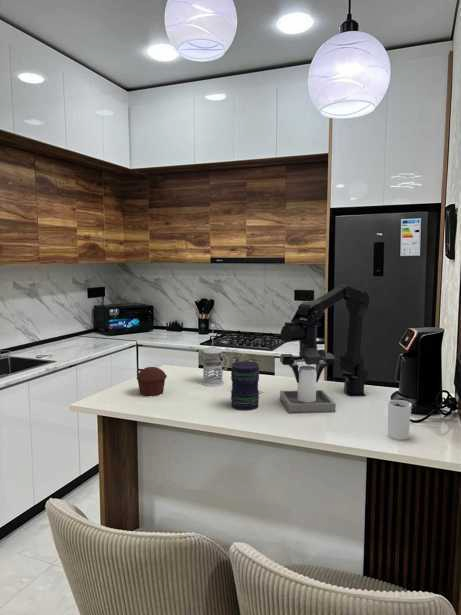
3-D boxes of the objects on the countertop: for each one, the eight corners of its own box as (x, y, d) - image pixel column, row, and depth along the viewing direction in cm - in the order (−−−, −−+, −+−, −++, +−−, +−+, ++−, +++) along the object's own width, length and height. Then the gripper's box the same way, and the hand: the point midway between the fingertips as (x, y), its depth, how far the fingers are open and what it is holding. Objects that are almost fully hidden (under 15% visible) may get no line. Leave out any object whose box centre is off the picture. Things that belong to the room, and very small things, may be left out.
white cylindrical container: (381, 435, 138) (383, 402, 137) (394, 430, 142) (396, 398, 141) (401, 442, 133) (403, 408, 132) (414, 436, 137) (416, 404, 136)
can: (304, 404, 161) (305, 371, 159) (294, 399, 167) (294, 366, 165) (319, 401, 164) (320, 368, 162) (308, 396, 169) (309, 364, 168)
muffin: (130, 394, 178) (129, 368, 177) (150, 387, 187) (150, 363, 186) (153, 399, 171) (152, 373, 170) (173, 392, 180) (172, 367, 179)
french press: (199, 380, 197) (198, 322, 194) (225, 379, 199) (225, 321, 196) (203, 387, 187) (202, 326, 184) (231, 385, 190) (231, 325, 187)
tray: (322, 397, 174) (322, 389, 174) (335, 412, 158) (335, 403, 158) (279, 398, 172) (280, 390, 172) (289, 413, 157) (289, 404, 156)
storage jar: (263, 404, 166) (263, 363, 165) (251, 412, 158) (251, 369, 156) (238, 400, 171) (238, 360, 169) (225, 407, 162) (226, 366, 161)
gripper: (286, 344, 154) (285, 390, 156) (341, 343, 155) (340, 388, 157) (280, 338, 165) (279, 381, 167) (331, 337, 166) (330, 379, 168)
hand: (307, 382), depth 164 cm, fingers open, 6 cm apart
